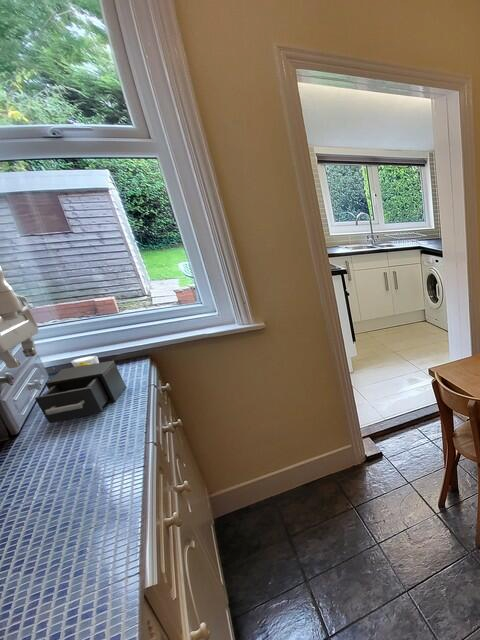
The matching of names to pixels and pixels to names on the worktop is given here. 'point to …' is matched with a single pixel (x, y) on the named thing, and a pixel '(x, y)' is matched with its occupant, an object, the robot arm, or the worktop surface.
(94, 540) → the worktop surface
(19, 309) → the robot arm
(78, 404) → the drawer
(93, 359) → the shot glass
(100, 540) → the worktop surface
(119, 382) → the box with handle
